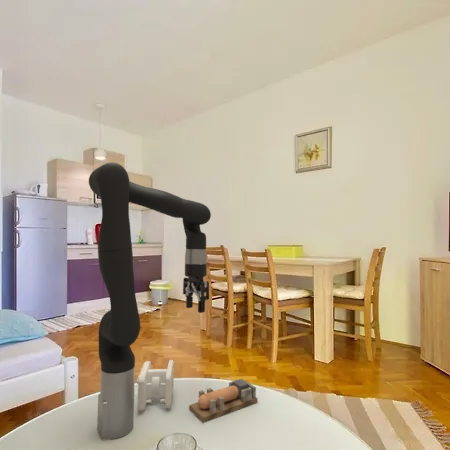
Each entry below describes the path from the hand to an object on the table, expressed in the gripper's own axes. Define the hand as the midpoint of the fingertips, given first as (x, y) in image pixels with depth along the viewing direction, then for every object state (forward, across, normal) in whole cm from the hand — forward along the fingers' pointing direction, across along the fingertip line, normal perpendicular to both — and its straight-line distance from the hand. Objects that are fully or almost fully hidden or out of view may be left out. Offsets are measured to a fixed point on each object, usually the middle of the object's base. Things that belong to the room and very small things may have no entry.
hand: (195, 310), depth 106 cm
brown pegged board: (+30, +9, +7) cm, 32 cm away
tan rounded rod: (+29, +8, +6) cm, 30 cm away
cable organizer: (+30, -6, -11) cm, 33 cm away
